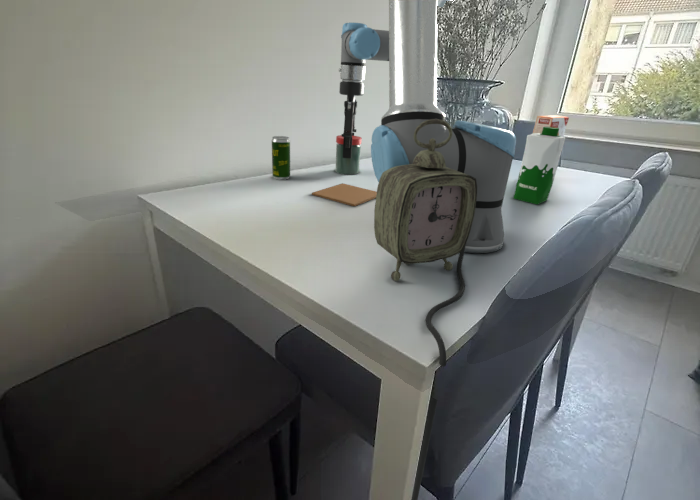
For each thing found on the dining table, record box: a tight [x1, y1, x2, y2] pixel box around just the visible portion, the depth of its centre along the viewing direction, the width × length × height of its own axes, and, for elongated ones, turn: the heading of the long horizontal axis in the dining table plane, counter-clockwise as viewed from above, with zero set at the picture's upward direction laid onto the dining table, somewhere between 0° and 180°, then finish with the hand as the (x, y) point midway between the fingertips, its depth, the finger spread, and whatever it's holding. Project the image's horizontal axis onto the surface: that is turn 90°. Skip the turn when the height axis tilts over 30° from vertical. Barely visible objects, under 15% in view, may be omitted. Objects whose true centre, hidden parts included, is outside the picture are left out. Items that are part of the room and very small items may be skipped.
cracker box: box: [532, 114, 570, 137], centre depth 137 cm, size 14×6×21 cm, turn 132°
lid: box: [335, 134, 363, 145], centre depth 127 cm, size 8×8×2 cm
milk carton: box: [513, 127, 566, 206], centre depth 109 cm, size 9×9×20 cm
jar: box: [334, 143, 362, 176], centre depth 129 cm, size 8×8×10 cm
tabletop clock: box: [373, 119, 477, 282], centre depth 63 cm, size 14×9×25 cm, turn 115°
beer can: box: [271, 135, 291, 181], centre depth 117 cm, size 5×5×12 cm
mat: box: [311, 182, 377, 207], centre depth 106 cm, size 14×14×1 cm
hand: (348, 154), depth 129 cm, fingers open, 9 cm apart
